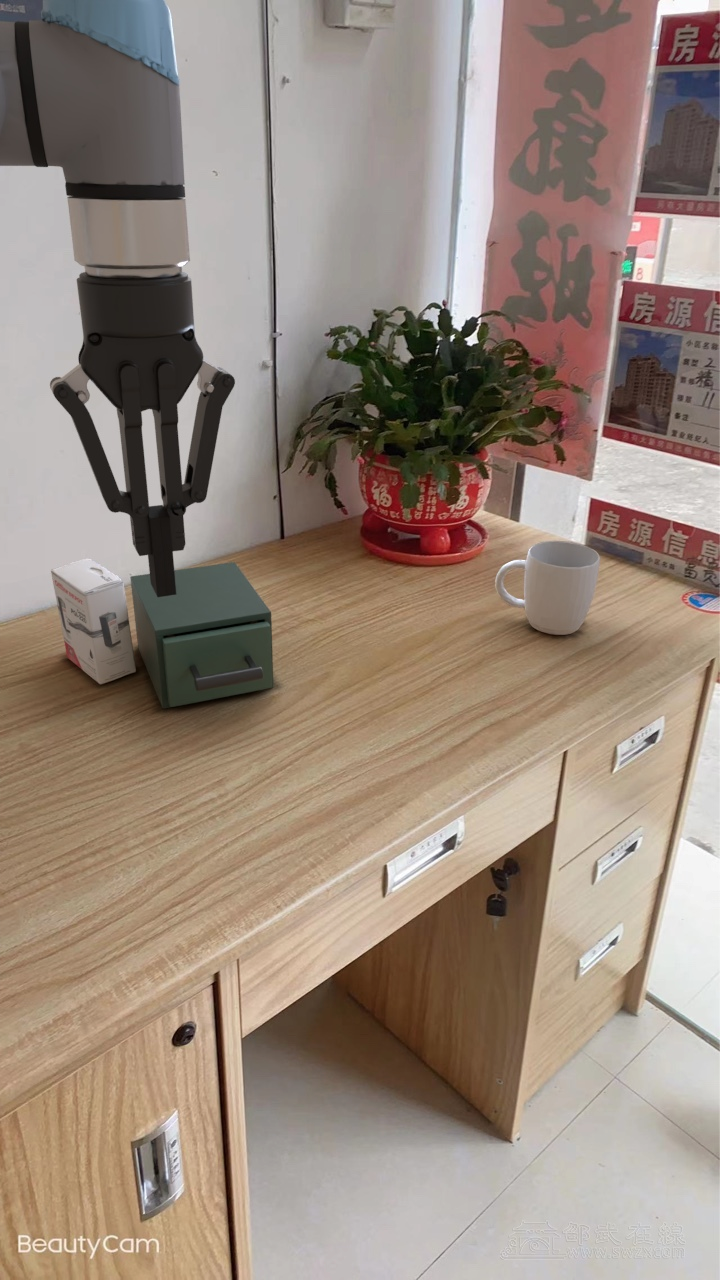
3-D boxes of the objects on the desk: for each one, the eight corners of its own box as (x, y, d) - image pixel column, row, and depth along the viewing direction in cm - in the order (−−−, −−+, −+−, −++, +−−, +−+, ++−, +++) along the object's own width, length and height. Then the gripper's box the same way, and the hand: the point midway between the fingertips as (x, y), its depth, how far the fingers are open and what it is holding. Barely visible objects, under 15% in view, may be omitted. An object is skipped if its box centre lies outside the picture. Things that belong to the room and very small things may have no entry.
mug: (592, 615, 118) (603, 545, 113) (585, 645, 111) (597, 572, 106) (498, 600, 121) (505, 532, 117) (485, 629, 114) (492, 557, 109)
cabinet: (273, 687, 100) (271, 611, 96) (162, 708, 96) (154, 630, 91) (238, 631, 112) (234, 561, 107) (138, 648, 108) (130, 576, 103)
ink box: (63, 658, 105) (48, 566, 99) (101, 645, 108) (89, 555, 102) (98, 687, 99) (85, 592, 94) (138, 672, 102) (127, 579, 97)
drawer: (284, 706, 95) (282, 643, 91) (179, 728, 91) (173, 662, 87) (238, 634, 109) (236, 577, 106) (146, 650, 105) (140, 591, 102)
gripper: (214, 262, 64) (230, 560, 76) (26, 265, 60) (72, 582, 71) (243, 273, 58) (255, 596, 69) (36, 278, 54) (85, 622, 65)
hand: (163, 588), depth 70 cm, fingers closed
